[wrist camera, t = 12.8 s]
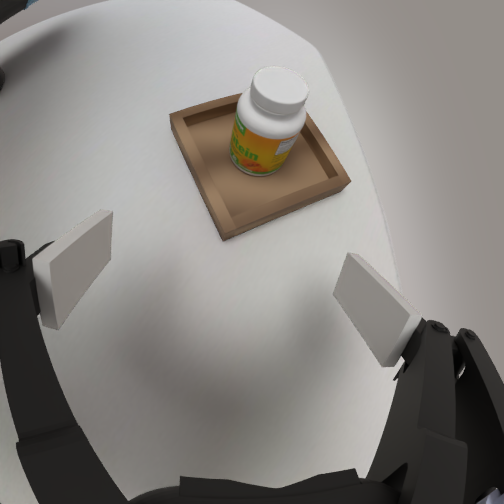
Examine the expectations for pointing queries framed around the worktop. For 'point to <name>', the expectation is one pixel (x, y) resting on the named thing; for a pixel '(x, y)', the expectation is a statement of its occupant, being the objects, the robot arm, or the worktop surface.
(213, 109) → the box
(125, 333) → the worktop surface
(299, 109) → the supplement bottle
